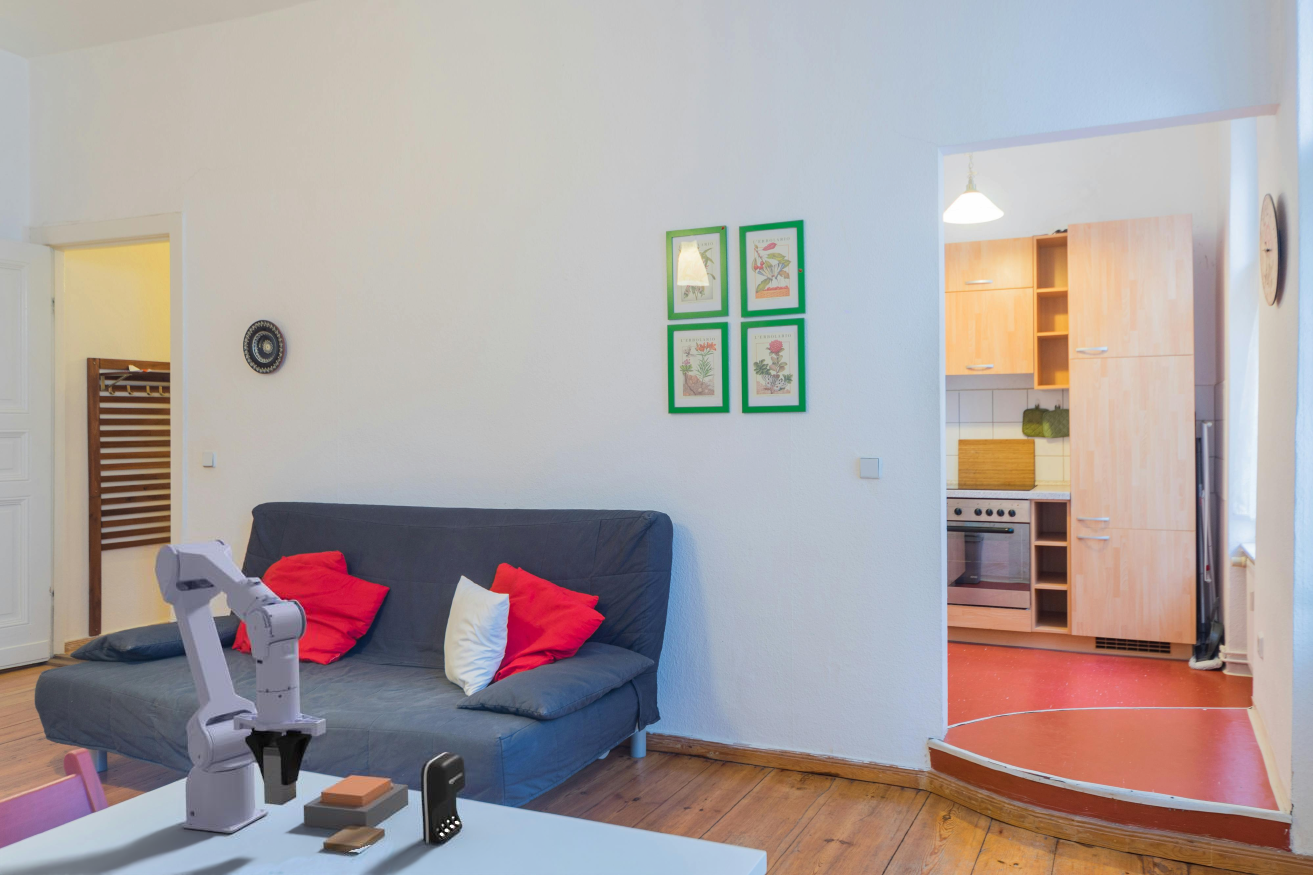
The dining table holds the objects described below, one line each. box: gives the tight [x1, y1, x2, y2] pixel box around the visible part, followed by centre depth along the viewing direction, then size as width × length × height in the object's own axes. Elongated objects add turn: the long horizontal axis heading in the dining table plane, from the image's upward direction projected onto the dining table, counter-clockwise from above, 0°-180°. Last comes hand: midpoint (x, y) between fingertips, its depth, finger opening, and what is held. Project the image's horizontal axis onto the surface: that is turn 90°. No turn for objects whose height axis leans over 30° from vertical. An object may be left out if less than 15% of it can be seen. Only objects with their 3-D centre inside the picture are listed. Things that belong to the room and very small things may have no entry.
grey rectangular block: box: [263, 742, 297, 806], centre depth 132 cm, size 3×3×8 cm
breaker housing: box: [303, 782, 409, 830], centre depth 142 cm, size 11×11×3 cm
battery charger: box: [420, 751, 466, 845], centre depth 132 cm, size 7×4×11 cm, turn 161°
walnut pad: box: [322, 825, 386, 853], centre depth 131 cm, size 6×6×1 cm
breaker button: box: [320, 774, 392, 807], centre depth 142 cm, size 7×7×2 cm
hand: (280, 781), depth 132 cm, fingers closed on grey rectangular block, 3 cm apart
